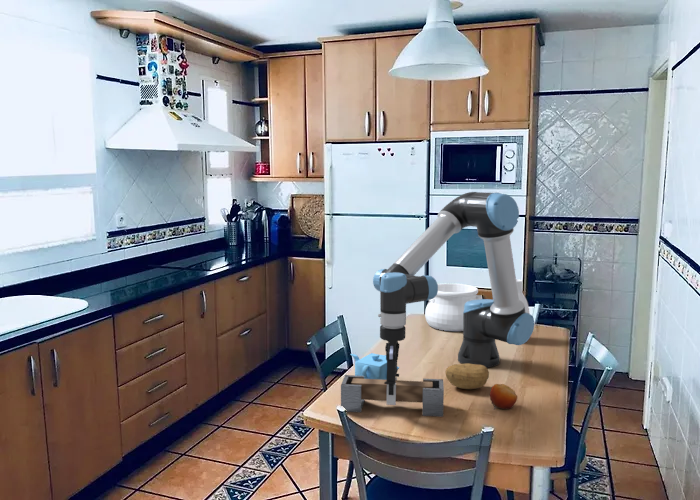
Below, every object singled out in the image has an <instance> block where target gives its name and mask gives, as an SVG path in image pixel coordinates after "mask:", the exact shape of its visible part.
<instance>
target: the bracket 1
mask: <svg viewBox="0 0 700 500" xmlns="http://www.w3.org/2000/svg"><path fill="white" fill-rule="evenodd" d="M353 378H359V379H364V376H356V375H355V374H354V375H351V374H350V375H349V374H345V375H344V377H343V379H342V382H341V384H340V407H341V406H343V407H344V408H345V409H346V410H347V412H348V413H362V409H363V407H364V404H365V400H362V385H352V384H351V382H352V380H353Z"/></svg>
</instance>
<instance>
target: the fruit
mask: <svg viewBox="0 0 700 500" xmlns="http://www.w3.org/2000/svg"><path fill="white" fill-rule="evenodd" d="M489 399H490V402H491V404H492V405H493V410H495V409H502V410H510V409H512V408H513V407H514V406H515V404H516V403H517V401H518V395H517V394H516V391H515V390H514V389H513V388H511V387H510V386H509V385H507V384H505V383H495V384H494V385H492V387H491V389H490V392H489Z"/></svg>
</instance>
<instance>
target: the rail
mask: <svg viewBox="0 0 700 500" xmlns="http://www.w3.org/2000/svg"><path fill="white" fill-rule="evenodd" d="M386 381H387V380H380V379H359V378H353V380H352V382H351V384H352V385H362V400H364V401H365V400H366V401H381V402H382V401H384V402H386V399H387V384H384V382H386ZM395 381H396V402H400V403H401V402H406V403H422V404H423V388H432V387H433V382H423V380H421V381H419V380H401V379H400V380H399V379H397V380H395Z"/></svg>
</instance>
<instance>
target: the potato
mask: <svg viewBox="0 0 700 500" xmlns="http://www.w3.org/2000/svg"><path fill="white" fill-rule="evenodd" d="M444 373H445V377H446V380H447V381H448V382H449V383H450V384H451V385H452V386H454V387H456V388H458V389H463V390H474V389H480V388H482V387H484V386H485V385H486V384H487V381H488V379H489V377H490V371H489V369H488V367H485V366H483V365H477V364H469V363H466V364H462V363H457V364H452V365H449V366H447V368H446V369H445V372H444Z"/></svg>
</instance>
